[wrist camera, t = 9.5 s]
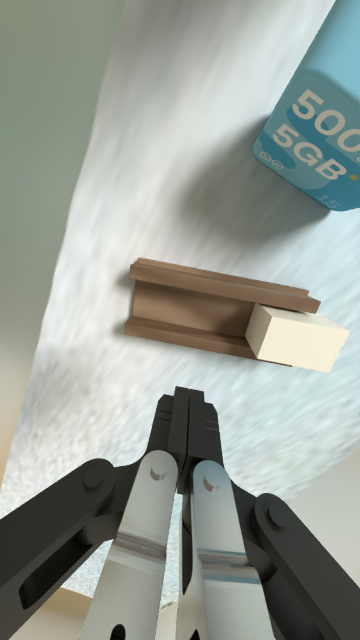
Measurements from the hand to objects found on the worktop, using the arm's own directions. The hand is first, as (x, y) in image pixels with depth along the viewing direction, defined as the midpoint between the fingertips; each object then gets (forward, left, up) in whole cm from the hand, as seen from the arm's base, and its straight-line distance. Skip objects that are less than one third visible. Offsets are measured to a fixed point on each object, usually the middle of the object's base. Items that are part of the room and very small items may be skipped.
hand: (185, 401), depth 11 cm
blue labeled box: (-18, +9, -19) cm, 28 cm away
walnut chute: (0, +3, -19) cm, 19 cm away
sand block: (0, +12, -17) cm, 21 cm away
